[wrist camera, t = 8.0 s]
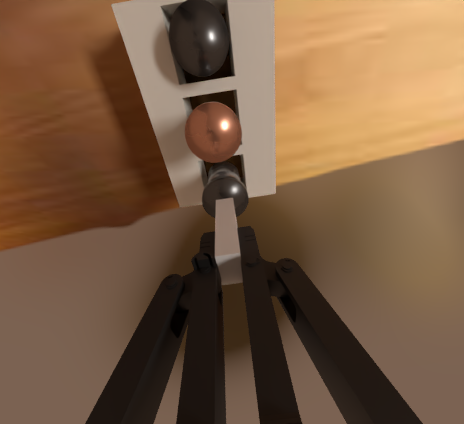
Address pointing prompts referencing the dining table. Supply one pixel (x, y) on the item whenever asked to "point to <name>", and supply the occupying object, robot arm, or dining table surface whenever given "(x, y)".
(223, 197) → the plunger
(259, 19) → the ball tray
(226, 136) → the plunger
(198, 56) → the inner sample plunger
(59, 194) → the dining table surface
